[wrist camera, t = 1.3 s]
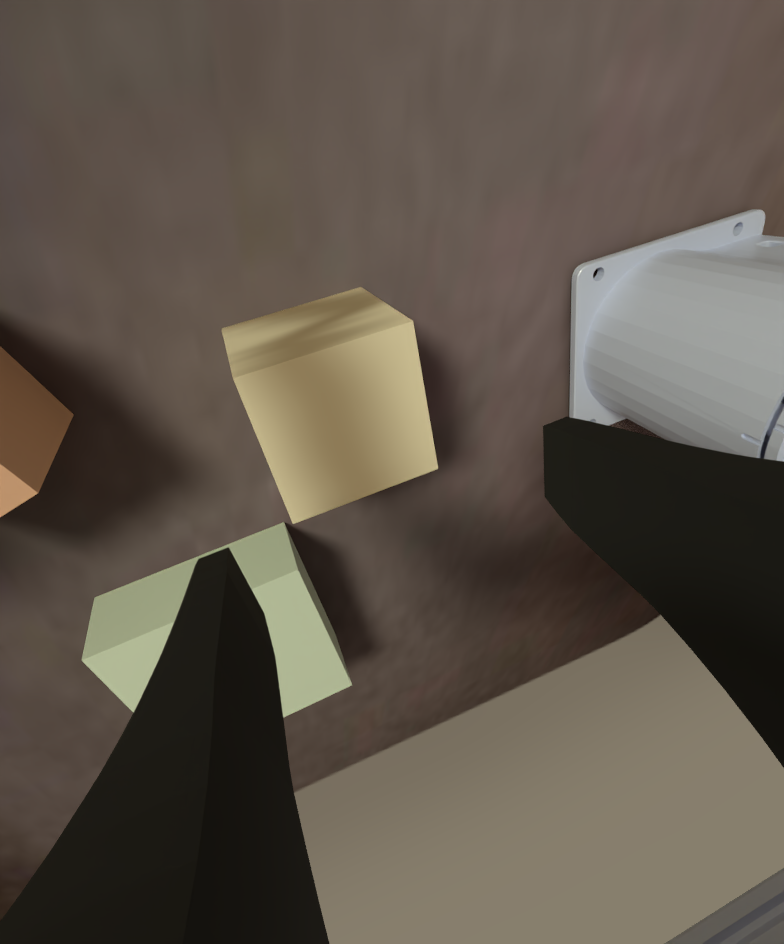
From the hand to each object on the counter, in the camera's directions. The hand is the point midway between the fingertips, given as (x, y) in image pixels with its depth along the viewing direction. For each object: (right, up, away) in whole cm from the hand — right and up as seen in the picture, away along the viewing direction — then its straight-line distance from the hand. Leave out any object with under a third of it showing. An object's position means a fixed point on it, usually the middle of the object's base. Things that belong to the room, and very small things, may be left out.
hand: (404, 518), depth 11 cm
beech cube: (-3, +5, +8) cm, 10 cm away
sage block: (-8, -6, +12) cm, 16 cm away
